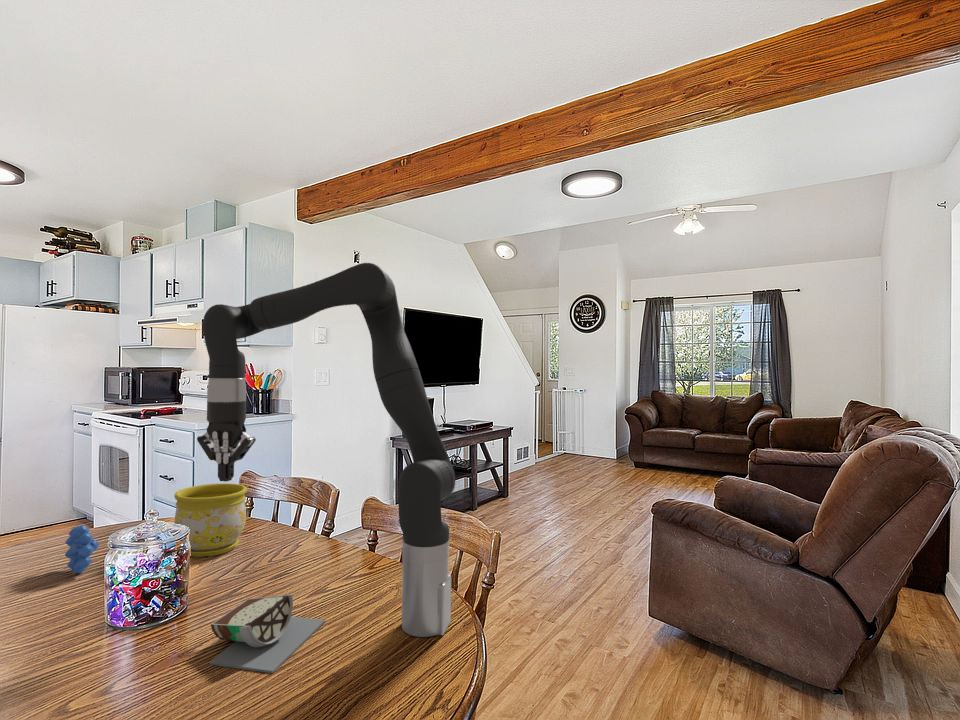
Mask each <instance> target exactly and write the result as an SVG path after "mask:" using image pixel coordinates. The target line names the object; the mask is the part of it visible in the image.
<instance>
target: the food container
mask: <svg viewBox="0 0 960 720" xmlns="http://www.w3.org/2000/svg"><path fill="white" fill-rule="evenodd" d="M293 599H294V598H293V594H290V593H284V594H282V595H274V596H264V597H253V598H247V599H246V600H244V601H242V602H241V603H240V604H238V605H237V606H235V607H234V608H232V609H230V610H229V611H228V612H227V613H225V614H224V615H222V616H221V617H220V618H218V619H217V620H215V621H213V622H212V623H211V624H210V627H211V631H212V632H213V634H214V635H215V637H216V638H218V639H219V640H222V641H230V642H235V641H238V642H246V643H247V644H248V645H250V646H252V647H263V646H266V645H269V644H271V643H273V642H275V641H276V640H278V639H279V638H280V637H281V636H282V635H283V633H284V632H285V630H286V629H287V627H288V624H289V622H290V619H291V616H292V614H293V609H294V607H293V606H294V600H293Z"/></svg>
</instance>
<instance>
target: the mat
mask: <svg viewBox="0 0 960 720" xmlns="http://www.w3.org/2000/svg"><path fill="white" fill-rule="evenodd" d="M325 623H326V620H325V619H324V620H323V619H318V618H308V617H300V616H292V615H291V619H290V622H289V624H288V627H287V629H286V630H285V632H284V633H283V635H282V636H281V637H280V638H279V639H278V640H276V641H275V642H273V643H271V644H269V645H266V646H263V647H252V646H250V645H248V644H247V643H246V642H238V641H233V643H231V644H230V645H229V646H228V647H227V648H225V649H224V650H223V651H221V652H220V653H219V654H217V655H216V656H215V657H214V658H212V659H211V660H210V661H209V662H208V663H209V665H211V666H219V667H226V668H232V669H239V670H245V671H252V672H259V673H267V674H274V673H275V672H276V671H278V669H280V667H281V666H282V665H283V664H284V663H286V661H287V660H288V659H290V657H291V656H293V655H294V654H295V652H296V651H297V650H298V649H300V647H301V646H302V645H304V644H305V643H306V641H307V640H309V638H311V637H312V636H313V635H314V634H315V632H317V630H319V629H320V628H321V626H323V625H324V624H325Z"/></svg>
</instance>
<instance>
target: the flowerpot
mask: <svg viewBox="0 0 960 720" xmlns="http://www.w3.org/2000/svg"><path fill="white" fill-rule="evenodd" d="M247 491H248V488H247V486H245V485H244V484H240V483H228V482H224V483H223V482H222V483H221V482H220V483H207V484H206V483H205V484H200V485H193V486H188V487H186V488H182V489H179V490H177V492H175V493H174V499H175V500H176V503H175V514H174V523H175V524H181V525H185V526H187V527H189V529H190V534H189V541H190V545H191V556H190V557H192V558H193V557H194V558H205V556H208V557H214V555H215V556H218V555H219V554H220V555H223V554H226V553H228V552H231V551H232V550H233V549H235V548H236V545H238V544H239V542H240V539H239V537H240V536H241V534H242V532H243V531H244V528H245V526H246V521H247V508H246V507H247V506H246V496H245V494H246V493H247ZM175 524H174V525H175ZM203 556H204V557H203Z"/></svg>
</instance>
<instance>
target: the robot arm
mask: <svg viewBox="0 0 960 720" xmlns="http://www.w3.org/2000/svg"><path fill="white" fill-rule="evenodd" d="M350 305H351V306H352V305H353V306H354V305H356V306H358V307H359V309H360V311H361V314H362V315H363V319H364V321H365V323H366V326H367V329H368V332H369V334H370V340H371V351H372V352H371V353H372V354H371V355H372V359H371V360H372V368H373V375H374V379H375V382H376V386H377V389H378V392H379V397H380V399H381V402H382V405H383V406H384V408H385V410H386V412H387V413H388V415H389V417H391V420H393V422H394V423H395V424H396V425H397V427H398V428H399V430H400V431H401V433H402V434H403V435H404V437H405V439H406V441H407V444H408V447H409V450H410V453H411V456H412V460H413V462H411V463H410V464H408V465H406V466H405V467H404V468H403V470H402V471H401V473H400V475H399V479H398V486H397V489H398V490H397V496H398V497H397V498H398V499H397V500H398V501H397V502H398V522H399V523H398V524H399V528H400V529H401V532H402V562H401V563H402V565H401V566H402V570H401V571H402V573H401V576H402V578H401V579H402V580H401V585H402V586H401V628H402V630H403V632H404V633H406V634H407V635H409V636H413V637H419V638H428V637H434V636H444V635H445V633H446V631H447V629H448V627H449V625H450V623H451V621H452V574H450V573H449V571H450V570H449V569H450V566H449V565H450V557H449V555H450V527H449V524H448V523H447V522H445V521H443V520H442V501H444V500H446V499H447V498H449V496H451V495H452V493H453V492H454V490H455V487H456V474H455V469H454V467H453V463H452V462H451V460H450V458H449V455H448V453H447V450H446V448H445V445H444V443H443V441H442V439H441V436H440V433H439V431H438V428H437V425H436V422H435V419H434V414H433V412H432V408H431V405H430V401H429V399H428V396H427V392H426V388H425V385H424V384H425V383H424V381H423V378H422V375H421V371H420V368H419V365H418V363H417V360H416V357H415V354H414V351H413V348H412V345H411V343H410V341H409V338H408V336H407V334H406V332H405V328H404V325H403V322H402V318H401V313H400V308H399V303H398V296H397V292H396V287H395V284H394V282H393V279H392V278H391V277H390V276H389V274H387V273H386V271H385V270H384V269H383V268H382V267H381V266H379V265H378V264H375V263H372V262H363V263H359V264H356V265H353V266H351V267H348V268H346V269H344V270H342V271H340V272H337V273H335V274H332V275H330V276H327V277H325V278H321V279H320V280H317V281H314V282H312V283H309V284H306V285H305V284H304V285H302V286H299V287H296V288H295V287H294V288H292V289H289V290H288V289H287V290H284V291H279V292H274V293H271V294H266V295H263V296H260V297H257V298H255V299H253V300H252V301H251V302H250V303H248V304H245V305H241V306H233V305H227V304H219V303H218V304H214V305H212V306H210V307H209V308H207V310H206V312H205V314H204V315H203V320H202V332H203V337H204V342H205V346H206V347H205V348H206V350H207V354H208V355H207V356H208V384H207V388H206V389H207V390H206V394H207V395H206V396H207V397H206V421H207V422H208V425H207V428H206V432H205V433H203V434H202V435H201V436H200V435H199V436H197V438H196V440H197V442H198V444H199V446H200V447H201V448H202V450H203V452H204V453H205V455H206V456H207V457H208V459H209V461H214V462H216V463H217V478H218V479H219V482H224V483H228V482H230V481H232V479H233V478H234V477H235V463H236V462H237V461H240V460H242V459H244V457H245V456H246V454H247V453H248V452H249V450H250V449H251V448H252V446H253V445H254V444H255V442H256V438H255V437H254V436H250V435H249V434H248V433H247V428H246V426H245V422H246V420H247V419H246V418H247V385H246V383H247V382H246V358H245V357H246V356H245V354H244V352H242V351H240V349H239V347H238V340H239V339H244V338H248V337H251V336H254V335H256V334H259V333H261V332H264V331H265V330H272V329H275V328H280V327H283V326H289V325H293V324H296V323H298V322H301V321H304V320H306V319H308V318H309V317H311V316H313V315H315V314H317V313H320V312H321V311H324V310H327V309H330V308H336V307H340V306H341V307H343V306H350Z"/></svg>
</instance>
